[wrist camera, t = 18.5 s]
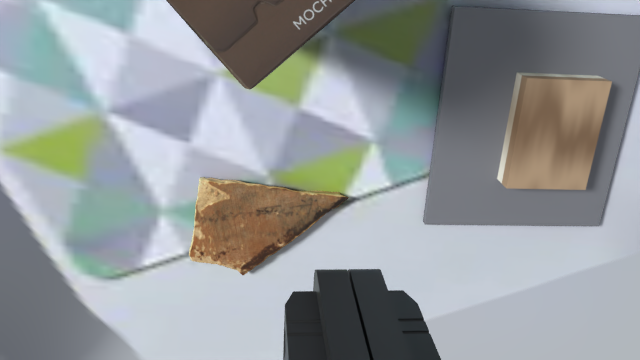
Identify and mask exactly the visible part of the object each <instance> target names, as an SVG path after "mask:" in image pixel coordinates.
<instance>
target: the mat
mask: <svg viewBox="0 0 640 360" xmlns="http://www.w3.org/2000/svg"><path fill="white" fill-rule="evenodd" d="M639 70H640V15H621V14H601V13H581V12H561V11H541V10H521V9H501V8H481V7H461V6H452V11H451V18H450V26H449V33H448V41H447V48H446V55H445V63H444V70H443V77H442V85H441V92H440V100H439V107H438V114H437V122H436V129H435V137H434V144H433V151H432V159H431V166H430V174H429V181H428V188H427V196H426V203H425V210H424V218H423V222H424V223H425V224H434V225H532V226H599V224H600V220H601V216H602V212H603V209H604V205H605V201H606V197H607V193H608V189H609V185H610V182H611V178H612V174H613V170H614V166H615V162H616V158H617V155H618V151H619V147H620V143H621V139H622V135H623V132H624V128H625V124H626V120H627V116H628V112H629V108H630V105H631V101H632V97H633V93H634V89H635V85H636V81H637V78H638V74H639ZM517 72H518V73H542V74H567V75H592V76H600V77H602V78H605V79H607V80H609V81H612V84H611V88H610V92H609V96H608V100H607V104H606V108H605V112H604V116H603V121H602V125H601V129H600V133H599V137H598V141H597V145H596V149H595V153H594V157H593V161H592V165H591V169H590V173H589V177H588V182H587V186H586V190H564V189H510V188H505V187H504V186H503V184H502V183H501V182H500V181H499V180H498V179H497V177H498V172H499V166H500V161H501V155H502V150H503V145H504V139H505V134H506V128H507V123H508V117H509V112H510V107H511V101H512V96H513V90H514V85H515V79H516V74H517Z"/></svg>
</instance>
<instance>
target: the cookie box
mask: <svg viewBox="0 0 640 360" xmlns="http://www.w3.org/2000/svg"><path fill="white" fill-rule="evenodd" d="M354 1H355V0H167V2H168V3H169V4H170V5H171V6H172V7H173V8H174V10H175V11H176V12H177V13H178V14H179V15H180V16H181V18H182V19H183V20H184V21H185V22H186V23H187V24H188V25H189V27H190V28H191V29H192V30H193V31H194V32H195V33H196V34H197V36H198V37H199V38H200V39H201V40H202V41H203V42H204V44H205V45H206V46H207V47H208V48H209V49H210V50H211V51H212V52H213V53H214V55H215V56H216V57H217V58H218V59H219V60H220V61H221V62H222V63H223V65H224V66H225V67H226V68H227V69H228V70H229V71H230V72H231V74H232V75H233V76H234V77H235V78H236V79H237V80H238V81H239V82H240V84H241V85H242V86H243V87H244V88H246V89H252V88H253V87H255V86H256V85H257V84H258V83H260V82H261V81H262V80H263V79H264V78H266V77H267V76H268V75H269V74H270V73H272V72H273V71H274V70H275V69H276V68H277V67H278V66H280V65H281V64H282V63H283V62H284V61H285V60H287V59H288V58H289V57H290V56H291V55H292V54H293V53H295V52H296V51H297V50H298V49H299V48H300V47H302V46H303V45H304V44H305V43H306V42H307V41H308V40H310V39H311V38H312V37H313V36H314V35H316V34H317V33H318V32H319V31H320V30H321V29H323V28H324V27H325V26H326V25H327V24H328V23H330V22H331V21H332V20H333V19H334V18H335V17H337V16H338V15H339V14H340V13H341V12H342V11H343V10H345V9H346V8H347V7H348V6H349V5H350V4H351V3H353V2H354Z"/></svg>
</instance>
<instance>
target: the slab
mask: <svg viewBox="0 0 640 360" xmlns="http://www.w3.org/2000/svg"><path fill="white" fill-rule="evenodd" d="M611 84H612V81H609V80H607V79H605V78H602V77H600V76H592V75H567V74H542V73H518V72H517V74H516V79H515V85H514V90H513V96H512V101H511V107H510V112H509V117H508V123H507V128H506V134H505V139H504V145H503V150H502V155H501V161H500V166H499V172H498V177H497V179H498V180H499V181H500V182H501V183H502V184H503V186H504V187H505V188H510V189H564V190H586V186H587V182H588V177H589V173H590V169H591V165H592V161H593V157H594V153H595V149H596V145H597V141H598V137H599V133H600V129H601V125H602V121H603V116H604V112H605V108H606V104H607V100H608V96H609V92H610V88H611Z"/></svg>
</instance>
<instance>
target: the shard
mask: <svg viewBox="0 0 640 360" xmlns="http://www.w3.org/2000/svg"><path fill="white" fill-rule="evenodd" d="M347 199H348V197H346V196H343V195H341V194H340V192H328V191H296V190H290V189H287V188H285V187H276V186H266V185H261V184H250V183H245V182H241V181H237V180H219V179H215V178H205V177H200V179H199V186H198V197H197V201H196V210H195V222H194V231H193V236H192V242H191V246H190V250H189V256H190V259H191V260H192V261H196V262H202V263H211V264H218V265H223V266H225V267H228V268H232V269H235V270H238V271H239V272H240V273H241V274H242V275H244V274H246V273H247V272H248V271H250V270H252V269H253V268H254V267H255V266H257V265H259V264H260V263H262V262H263V261H264V260H265V259H266V258H267V257H268V256H270V255H272V254H274V253H276V252H277V251H278V250H280V249H281V248H282V247H284V246H285V245H287V244H288V243H290V242H292V241H293V240H294V239H295V238H296V237H298V236H300V235H301V234H302V233H303V232H304V231H306V230H307V229H308V228H310V227H311V226H312V225H313V224H314V223H316V222H317V221H318V220H319V219H320V218H321V217H322V216H323V215H325V214H326V213H328V212H329V211H331V210H332V209H334V208H336V207H338V206H339V205H340V204H341V203H343V202H344V201H345V200H347Z"/></svg>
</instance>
